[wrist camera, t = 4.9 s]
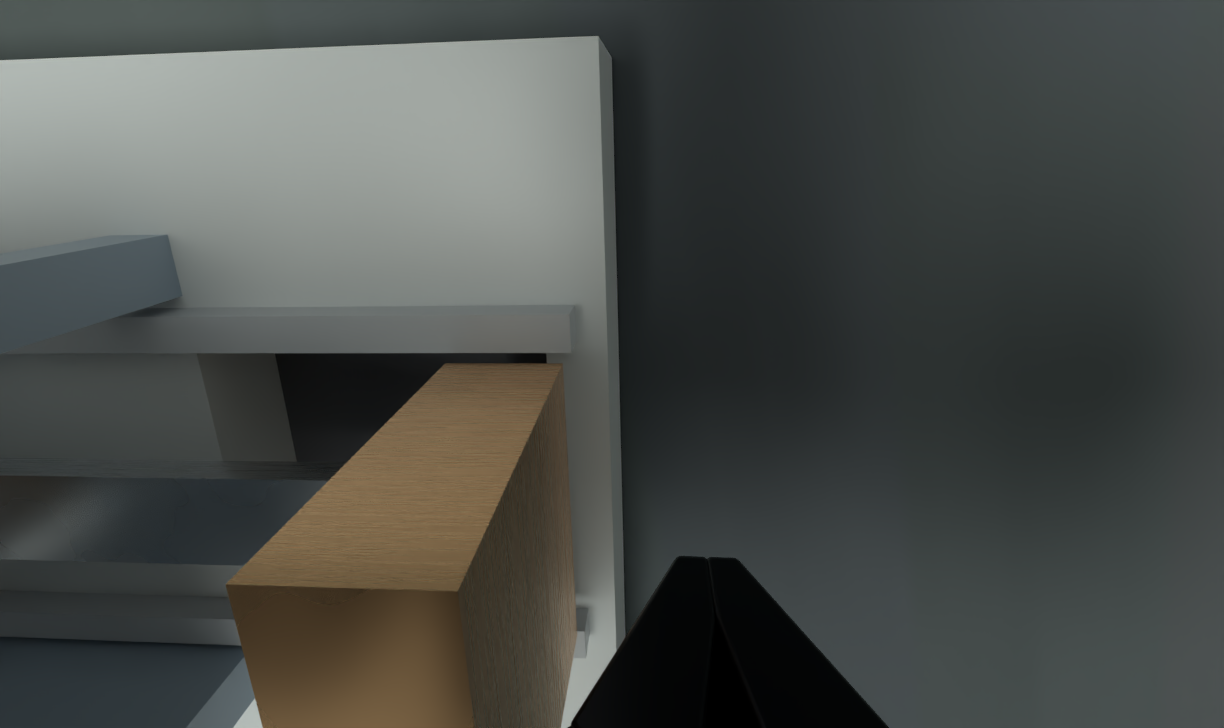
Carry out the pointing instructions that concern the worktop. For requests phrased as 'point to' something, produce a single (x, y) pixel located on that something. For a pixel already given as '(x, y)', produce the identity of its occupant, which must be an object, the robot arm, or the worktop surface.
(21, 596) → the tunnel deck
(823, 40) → the worktop surface
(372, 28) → the worktop surface
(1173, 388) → the worktop surface
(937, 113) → the worktop surface
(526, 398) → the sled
